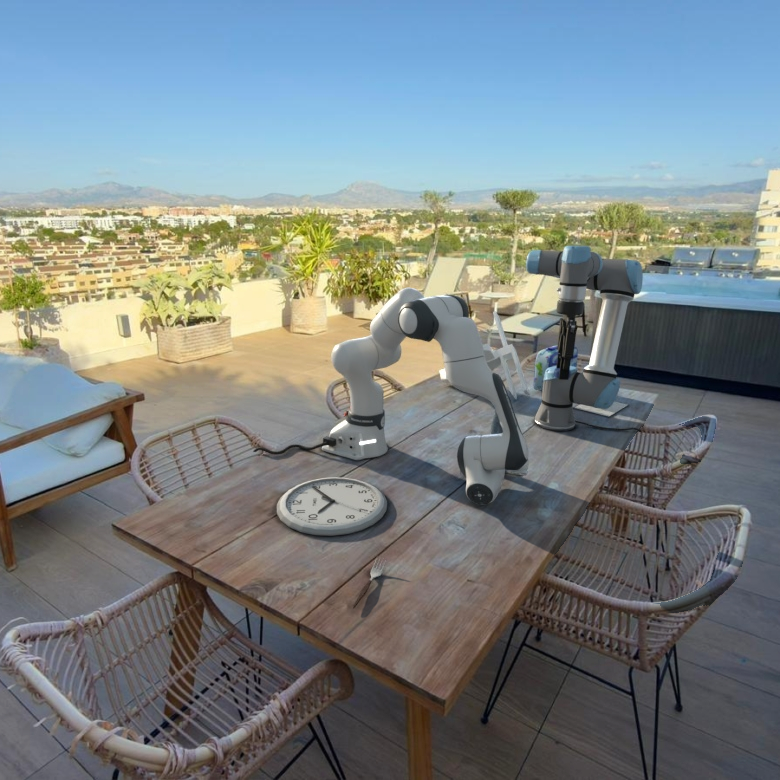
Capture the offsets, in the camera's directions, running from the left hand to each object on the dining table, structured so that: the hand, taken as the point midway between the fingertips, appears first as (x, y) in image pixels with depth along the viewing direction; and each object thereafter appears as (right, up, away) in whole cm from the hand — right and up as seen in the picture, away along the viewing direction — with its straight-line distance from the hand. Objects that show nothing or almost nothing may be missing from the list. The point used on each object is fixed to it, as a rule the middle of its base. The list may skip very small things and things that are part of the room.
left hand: (497, 451), depth 164 cm
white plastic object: (+8, +18, +80) cm, 82 cm away
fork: (-38, -22, -53) cm, 69 cm away
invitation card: (+58, +12, +63) cm, 86 cm away
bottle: (0, -6, +1) cm, 6 cm away
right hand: (+19, +23, -4) cm, 30 cm away
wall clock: (-49, -12, -21) cm, 55 cm away
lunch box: (+45, +20, +86) cm, 99 cm away
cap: (+19, +25, -4) cm, 32 cm away
